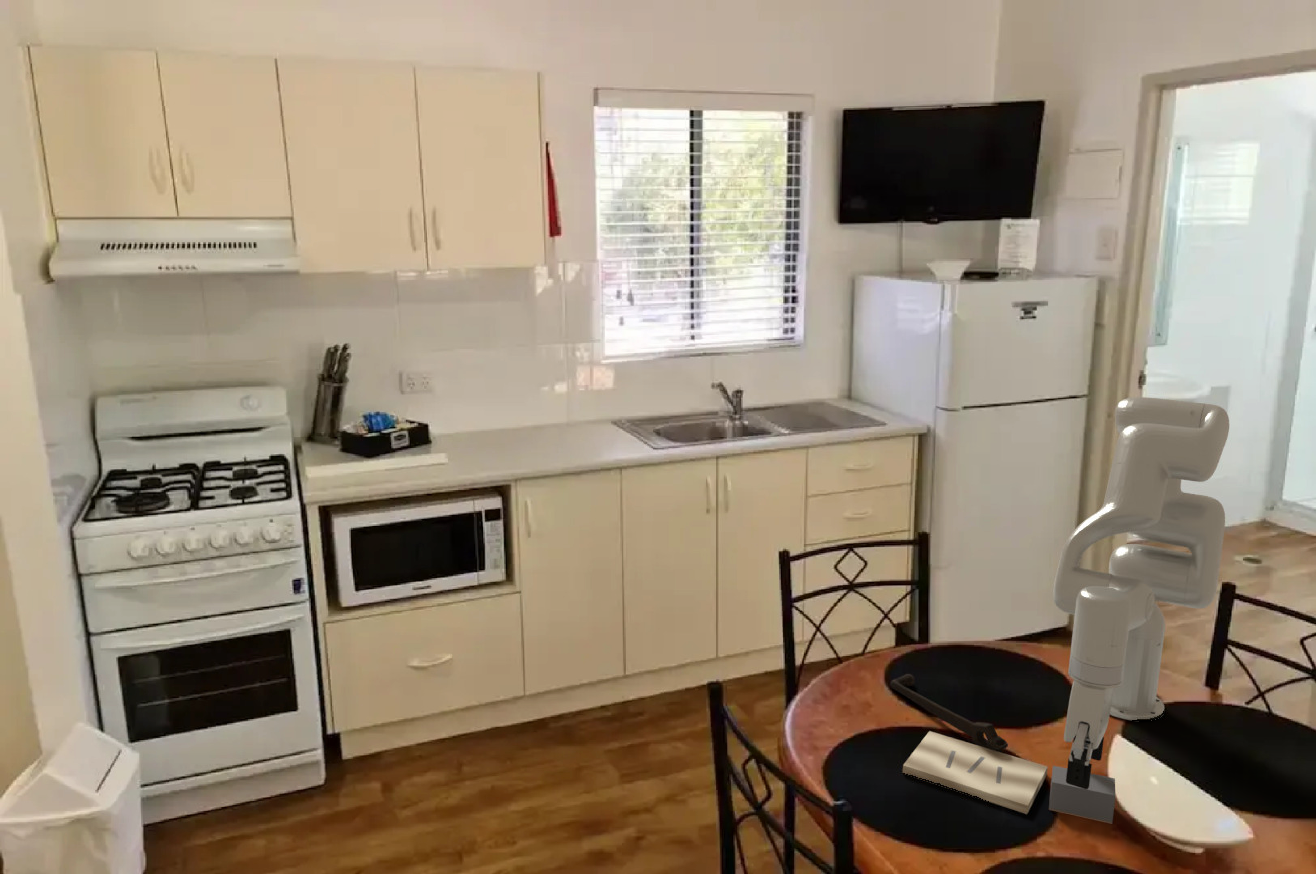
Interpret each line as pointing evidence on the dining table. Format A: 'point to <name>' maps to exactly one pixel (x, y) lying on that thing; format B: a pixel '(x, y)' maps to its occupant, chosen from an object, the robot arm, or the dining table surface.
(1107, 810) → the block
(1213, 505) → the robot arm
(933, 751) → the board
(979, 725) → the wrench
